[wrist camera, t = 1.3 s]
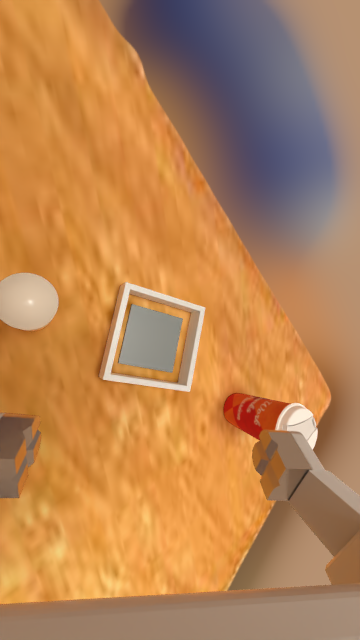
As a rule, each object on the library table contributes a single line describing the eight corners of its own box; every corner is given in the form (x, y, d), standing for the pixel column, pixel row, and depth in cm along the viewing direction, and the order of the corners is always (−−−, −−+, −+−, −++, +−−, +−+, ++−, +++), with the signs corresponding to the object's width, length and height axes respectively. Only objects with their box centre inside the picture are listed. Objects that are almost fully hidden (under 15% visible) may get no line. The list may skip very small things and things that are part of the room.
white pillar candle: (3, 326, 32) (-16, 321, 21) (15, 287, 33) (2, 264, 22) (47, 335, 34) (50, 335, 23) (57, 298, 35) (64, 282, 24)
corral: (98, 376, 37) (102, 379, 34) (120, 285, 39) (126, 282, 36) (180, 388, 43) (190, 391, 40) (195, 309, 45) (205, 307, 42)
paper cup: (243, 380, 49) (311, 395, 37) (255, 416, 50) (325, 442, 38) (212, 400, 46) (275, 424, 33) (225, 438, 47) (292, 475, 34)
